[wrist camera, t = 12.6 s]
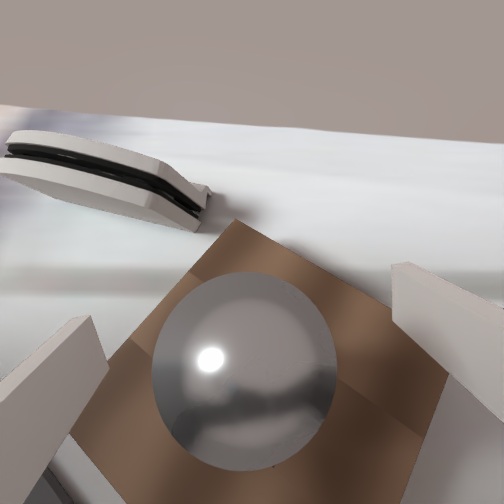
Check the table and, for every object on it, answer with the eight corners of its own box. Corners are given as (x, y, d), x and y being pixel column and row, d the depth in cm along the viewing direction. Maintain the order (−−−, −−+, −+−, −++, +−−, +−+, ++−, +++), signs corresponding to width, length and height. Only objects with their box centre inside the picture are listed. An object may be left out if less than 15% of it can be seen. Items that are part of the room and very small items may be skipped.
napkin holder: (216, 193, 28) (173, 136, 18) (203, 237, 27) (151, 203, 18) (80, 164, 31) (-18, 103, 21) (66, 203, 31) (-42, 159, 21)
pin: (222, 395, 19) (113, 377, 6) (256, 346, 20) (228, 245, 7) (270, 436, 18) (265, 532, 5) (302, 381, 19) (369, 333, 6)
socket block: (101, 414, 19) (56, 417, 15) (241, 247, 25) (235, 218, 21) (301, 635, 14) (313, 731, 10) (420, 358, 19) (458, 348, 15)
